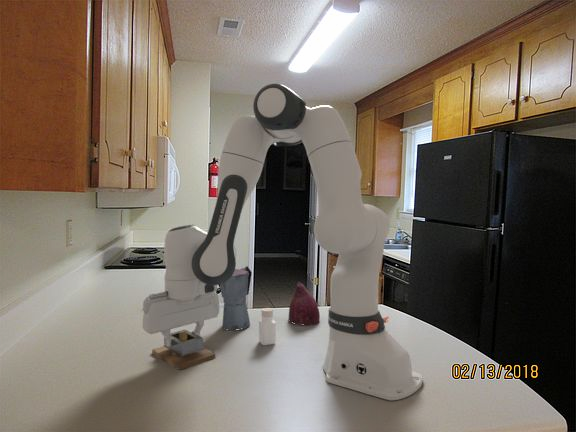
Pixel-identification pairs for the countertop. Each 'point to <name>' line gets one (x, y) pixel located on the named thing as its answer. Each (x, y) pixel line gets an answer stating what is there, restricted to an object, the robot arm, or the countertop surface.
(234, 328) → the moka pot
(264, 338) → the pepper shaker
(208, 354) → the keeper
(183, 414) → the countertop surface
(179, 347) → the link
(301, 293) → the vegetable
